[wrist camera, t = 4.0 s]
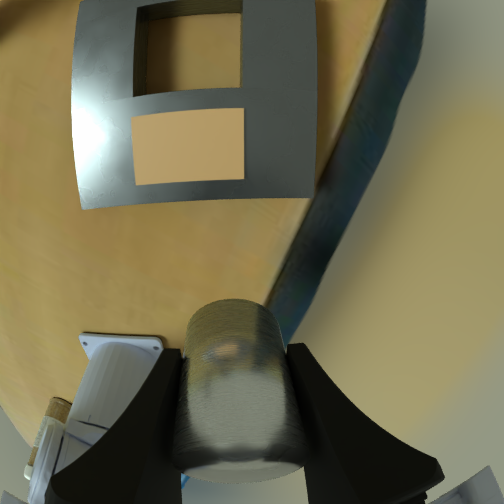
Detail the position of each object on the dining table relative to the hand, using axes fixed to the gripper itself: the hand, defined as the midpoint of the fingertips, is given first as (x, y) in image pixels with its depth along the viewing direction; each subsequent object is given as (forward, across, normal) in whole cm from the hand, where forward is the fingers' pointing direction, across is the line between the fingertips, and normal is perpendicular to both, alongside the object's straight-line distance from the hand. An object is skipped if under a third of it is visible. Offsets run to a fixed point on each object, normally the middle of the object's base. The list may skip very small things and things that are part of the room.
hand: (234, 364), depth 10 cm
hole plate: (+9, +2, -11) cm, 15 cm away
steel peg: (+2, 0, 0) cm, 2 cm away
